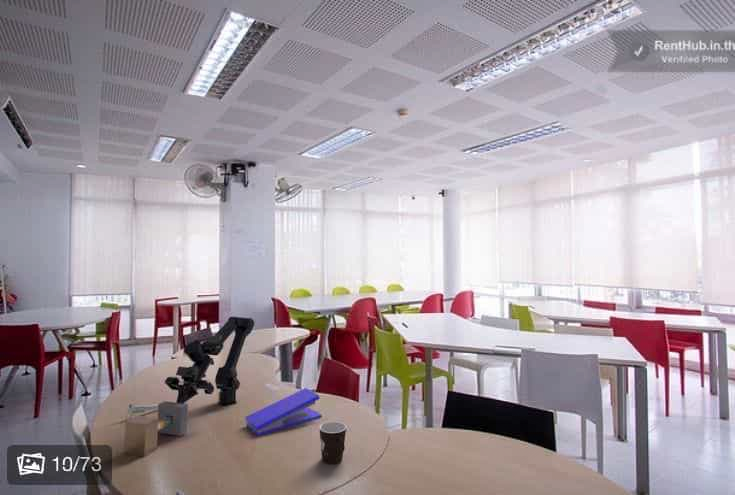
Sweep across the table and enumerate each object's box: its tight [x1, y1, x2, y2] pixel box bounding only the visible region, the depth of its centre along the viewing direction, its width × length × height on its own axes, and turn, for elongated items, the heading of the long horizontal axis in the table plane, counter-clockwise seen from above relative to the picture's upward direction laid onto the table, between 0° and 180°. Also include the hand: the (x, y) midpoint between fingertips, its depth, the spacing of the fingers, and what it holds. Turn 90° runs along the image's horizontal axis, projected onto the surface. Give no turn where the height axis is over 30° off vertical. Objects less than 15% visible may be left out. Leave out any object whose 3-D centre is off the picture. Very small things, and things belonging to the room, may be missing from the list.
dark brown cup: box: [318, 421, 347, 465], centre depth 118 cm, size 12×9×10 cm
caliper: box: [125, 403, 158, 421], centre depth 155 cm, size 20×1×6 cm, turn 151°
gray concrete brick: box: [157, 400, 189, 437], centre depth 136 cm, size 3×10×10 cm, turn 76°
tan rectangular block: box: [123, 415, 173, 457], centre depth 128 cm, size 16×8×10 cm, turn 166°
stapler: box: [244, 387, 322, 437], centre depth 148 cm, size 12×28×10 cm, turn 131°
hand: (177, 406), depth 138 cm, fingers closed
